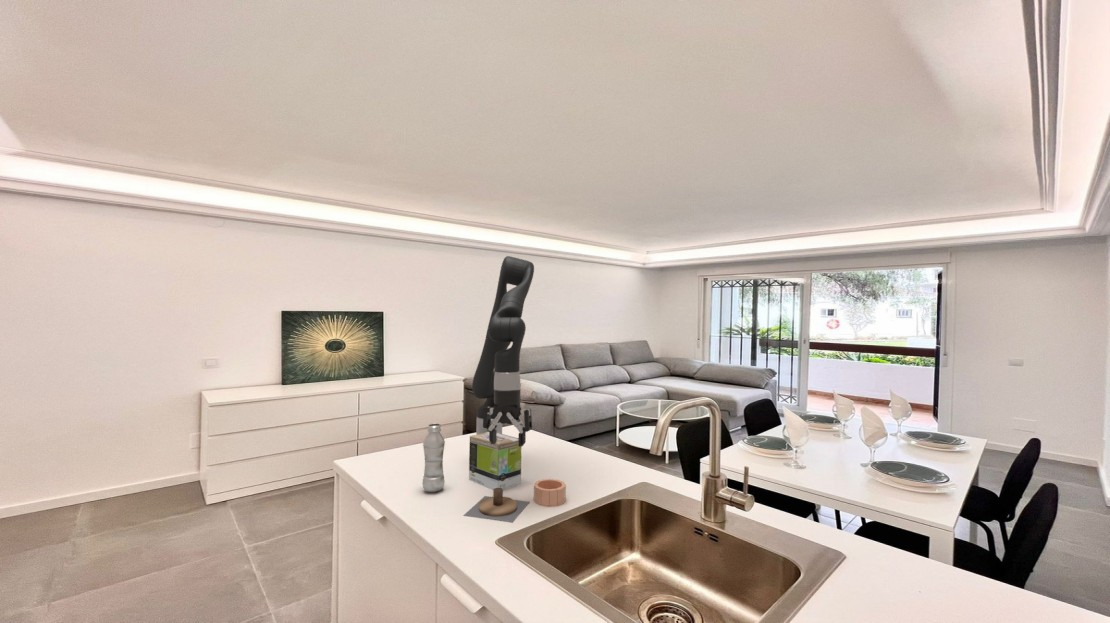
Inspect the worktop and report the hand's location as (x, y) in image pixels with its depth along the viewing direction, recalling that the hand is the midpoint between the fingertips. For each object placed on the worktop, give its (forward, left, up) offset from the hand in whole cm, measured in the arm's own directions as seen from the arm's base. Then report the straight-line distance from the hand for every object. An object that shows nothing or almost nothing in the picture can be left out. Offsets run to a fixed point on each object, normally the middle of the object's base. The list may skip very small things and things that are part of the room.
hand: (507, 444), depth 132 cm
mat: (-1, -4, -17) cm, 18 cm away
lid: (-1, -4, -17) cm, 17 cm away
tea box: (-10, +15, -17) cm, 25 cm away
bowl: (+11, +6, -17) cm, 21 cm away
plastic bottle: (-25, +3, -17) cm, 31 cm away
